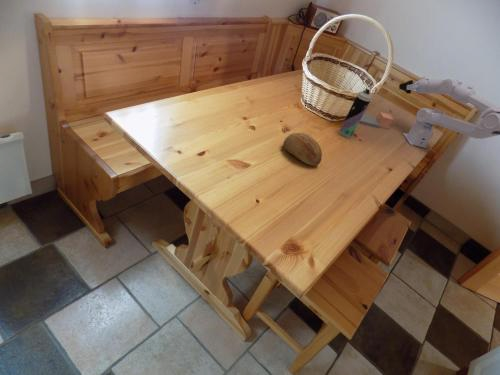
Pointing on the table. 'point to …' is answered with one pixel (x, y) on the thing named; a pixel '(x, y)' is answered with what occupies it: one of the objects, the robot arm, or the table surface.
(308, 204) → the table surface
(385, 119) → the clay cube
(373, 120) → the slate tile
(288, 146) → the bread roll
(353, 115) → the spray can
